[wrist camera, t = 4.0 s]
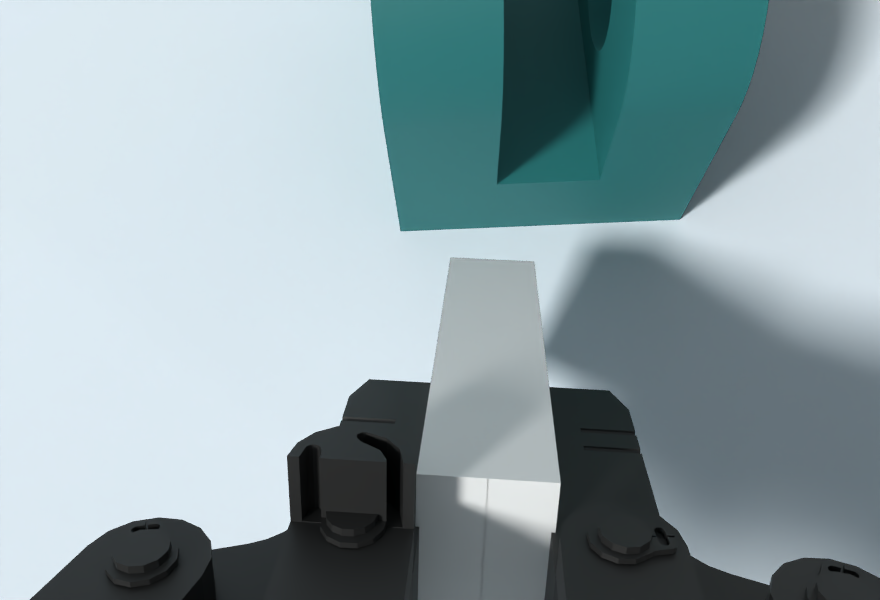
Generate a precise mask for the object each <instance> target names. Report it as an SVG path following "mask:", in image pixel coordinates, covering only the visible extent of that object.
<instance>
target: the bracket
mask: <svg viewBox="0 0 880 600" xmlns="http://www.w3.org/2000/svg"><path fill="white" fill-rule="evenodd" d="M768 3H769V0H371V11H372V23H373V36H374V47H375V58H376V68H377V78H378V87H379V96H380V104H381V112H382V119H383V126H384V132H385V138H386V144H387V151H388V157H389V163H390V169H391V175H392V181H393V187H394V193H395V200H396V206H397V212H398V218H399V224H400V230H401V231H418V230H441V229H465V228H489V227H513V226H537V225H561V224H585V223H609V222H633V221H657V220H680V218H681V217H682V215H683V213H684V211H685V209H686V207H687V206H688V204H689V202H690V200H691V198H692V196H693V194H694V193H695V191H696V189H697V187H698V185H699V183H700V181H701V180H702V178H703V176H704V174H705V172H706V170H707V168H708V167H709V165H710V163H711V161H712V159H713V157H714V156H715V154H716V152H717V150H718V148H719V146H720V144H721V143H722V141H723V139H724V137H725V135H726V133H727V131H728V130H729V128H730V126H731V124H732V122H733V120H734V119H735V117H736V115H737V113H738V111H739V109H740V107H741V105H742V102H743V100H744V97H745V95H746V92H747V90H748V87H749V84H750V81H751V78H752V75H753V72H754V69H755V65H756V61H757V58H758V54H759V50H760V45H761V41H762V37H763V32H764V27H765V21H766V16H767V10H768Z"/></svg>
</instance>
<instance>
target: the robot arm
mask: <svg viewBox="0 0 880 600" xmlns="http://www.w3.org/2000/svg"><path fill="white" fill-rule="evenodd" d="M287 463H288V481H289V499H290V517H291V522H290V525H289V527H288V530H286V531H285V532H283V533H280V534H278V535H276V536H273V537H271V538H269V539H266V540H262V541H258V542H254V543H250V544H244V545H238V546H232V547H226V548H220V549H214V550H212V549H211V541H210V540H209V538H208V537H207V536H206V534H205V533H204V532H203V531H202V529H201V528H199V527H197V526H195V525H193V524H191V523H188V522H186V521H184V520H179V519H169V518H153V519H146V520H140V521H133V522H131V523H128V524H126V525H123V526H120V527H118V528H115V529H113V530H110V531H108V532H107V533H105V534H104V535H102V536H101V537H99V538H98V539H97V540H95V541H94V542H92V543H91V544H89V545H88V546H87V547H86V548H85V549H84V550H83V551H81V552H80V553H79V554H78V555H77V556H76V557H75V558H74V559H73V560H72V561H71V562H70V563H69V564H68V565H66V566H65V567H64V568H63V569H62V570H61V571H60V572H59V573H58V574H57V575H56V576H55V577H54V578H53V579H51V580H50V581H49V582H48V583H47V584H46V585H45V586H44V587H43V588H42V589H41V590H40V591H39V592H38V593H36V594H35V595H34V596H33V597H32V598H31V599H30V600H880V578H878V577H876V576H874V575H872V574H870V573H868V572H866V571H864V570H862V569H860V568H858V567H857V566H853V565H849V564H846V563H842V562H838V561H835V560H831V559H820V558H801V559H798V560H794V561H791V562H787V563H784V564H783V565H782V566H781V567H780V568H779V569H778V570H777V571H776V572H775V573H774V574H773V575H772V578H771V582H770V585H766V584H763V583H759V582H756V581H753V580H749V579H746V578H742V577H739V576H736V575H732V574H729V573H726V572H723V571H721V570H718V569H715V568H713V567H710V566H708V565H706V564H704V563H702V562H701V561H699V560H697V559H695V558H693V557H691V556H690V553H689V550H688V547H687V545H686V543H685V542H684V540H683V538H682V537H681V535H680V533H679V532H678V530H677V529H675V528H674V527H673V526H671V525H670V524H669V523H668V522H666V521H665V520H664V519H663V518H661V517H660V516H659V512H658V509H657V506H656V502H655V499H654V495H653V492H652V488H651V485H650V481H649V478H648V474H647V471H646V468H645V464H644V461H643V457H642V454H640V447H639V443H638V440H637V436H635V430H634V426H633V423H632V419H631V416H630V412H629V410H628V409H627V408H626V407H625V406H624V405H623V404H622V403H621V402H620V401H619V400H618V399H617V398H616V397H615V396H614V395H613V394H612V393H611V392H610V391H607V390H589V389H572V388H554V387H549V381H548V373H547V365H546V356H545V348H544V340H543V331H542V323H541V314H540V306H539V298H538V289H537V281H536V273H535V264H534V262H531V261H511V260H491V259H470V258H450V264H449V270H448V276H447V283H446V289H445V296H444V302H443V308H442V315H441V321H440V327H439V334H438V340H437V346H436V353H435V359H434V365H433V372H432V378H431V383H423V382H406V381H388V380H371V379H369V380H368V381H367V382H366V383H365V384H363V385H362V386H361V387H360V388H359V389H357V390H356V391H355V392H354V393H353V394H352V395H350V396H349V399H348V402H347V405H346V408H345V411H344V414H343V419H342V421H341V423H340V426H337V427H333V428H330V429H326V430H322V431H319V432H315V433H313V434H312V435H310V436H308V437H306V438H305V439H303V440H301V441H300V442H298V443H297V444H296V445H295V447H294V448H293V449H292V450H291V452H290V453H289V454H288V456H287Z"/></svg>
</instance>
